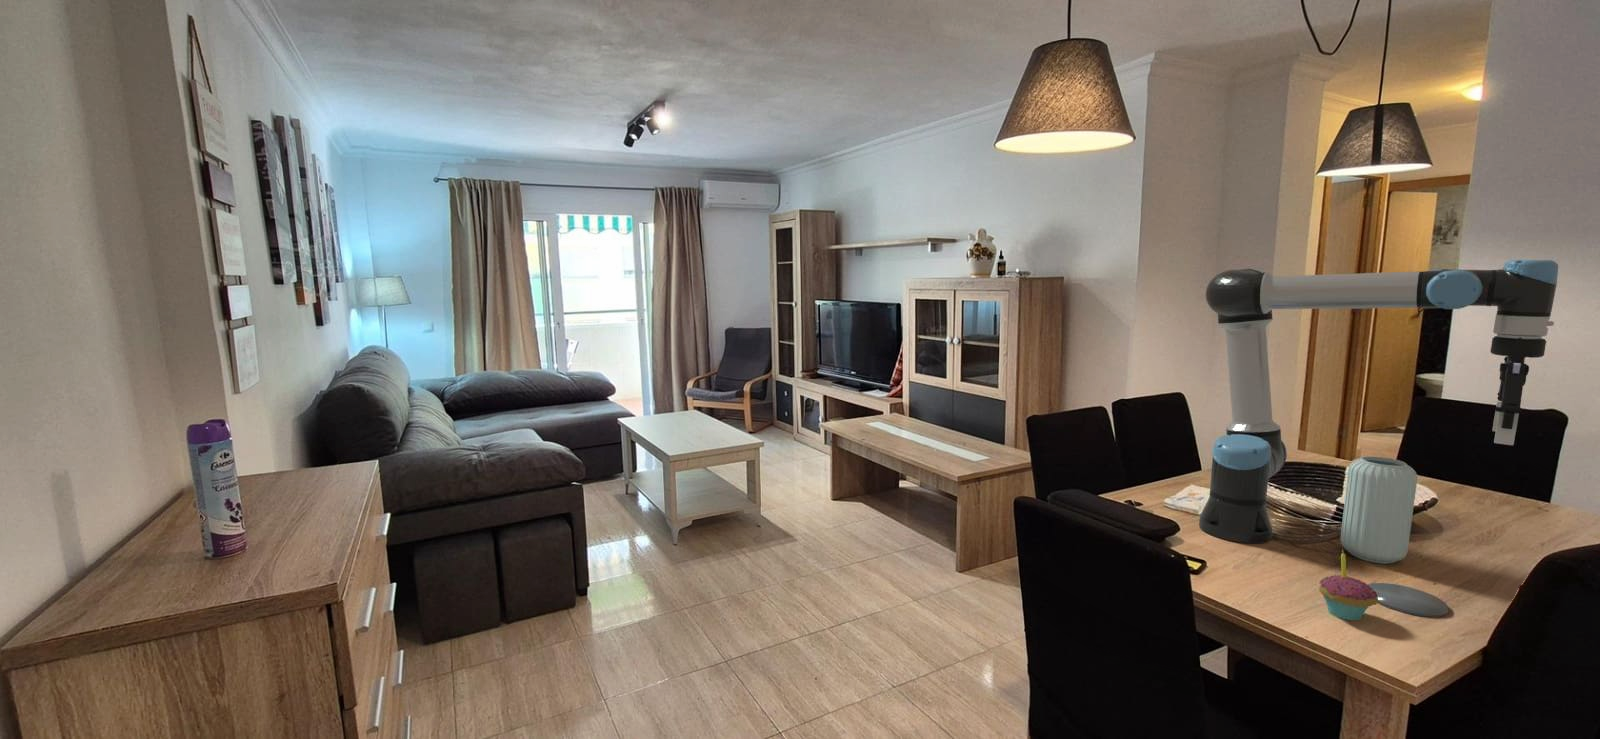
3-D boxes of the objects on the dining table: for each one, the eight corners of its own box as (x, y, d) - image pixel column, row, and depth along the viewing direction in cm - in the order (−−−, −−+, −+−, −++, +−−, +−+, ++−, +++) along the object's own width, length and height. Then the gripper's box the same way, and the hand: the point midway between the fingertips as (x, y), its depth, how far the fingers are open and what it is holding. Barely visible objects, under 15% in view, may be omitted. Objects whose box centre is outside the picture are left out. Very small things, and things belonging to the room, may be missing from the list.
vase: (1406, 555, 150) (1419, 460, 147) (1405, 572, 142) (1418, 472, 139) (1341, 541, 158) (1352, 451, 155) (1336, 557, 150) (1347, 461, 146)
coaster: (1372, 606, 128) (1372, 602, 128) (1359, 581, 138) (1359, 578, 138) (1457, 623, 122) (1457, 619, 122) (1436, 595, 132) (1437, 591, 132)
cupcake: (1305, 604, 129) (1311, 545, 127) (1345, 602, 130) (1352, 543, 128) (1344, 627, 121) (1352, 565, 119) (1387, 625, 121) (1395, 563, 119)
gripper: (1552, 343, 124) (1533, 453, 127) (1542, 333, 141) (1525, 430, 145) (1494, 340, 129) (1477, 445, 132) (1491, 330, 146) (1476, 424, 150)
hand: (1502, 437), depth 138 cm, fingers open, 13 cm apart
